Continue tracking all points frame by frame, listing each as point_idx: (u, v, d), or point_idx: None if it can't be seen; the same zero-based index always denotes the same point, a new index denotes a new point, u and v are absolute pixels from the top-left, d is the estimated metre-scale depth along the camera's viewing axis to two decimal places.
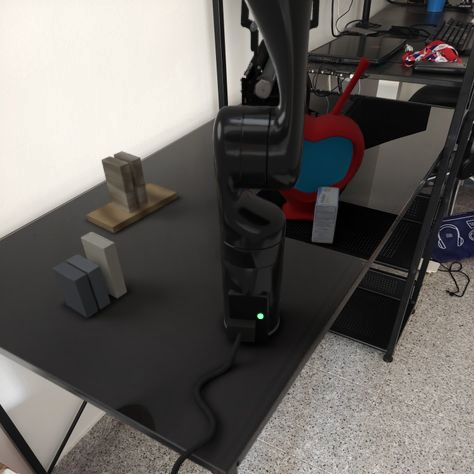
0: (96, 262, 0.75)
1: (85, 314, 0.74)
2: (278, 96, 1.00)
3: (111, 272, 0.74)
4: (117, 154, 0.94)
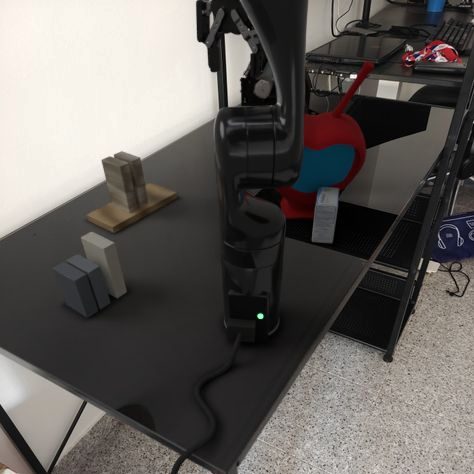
0: (96, 262, 0.75)
1: (85, 314, 0.74)
2: None
3: (111, 272, 0.74)
4: (117, 154, 0.94)
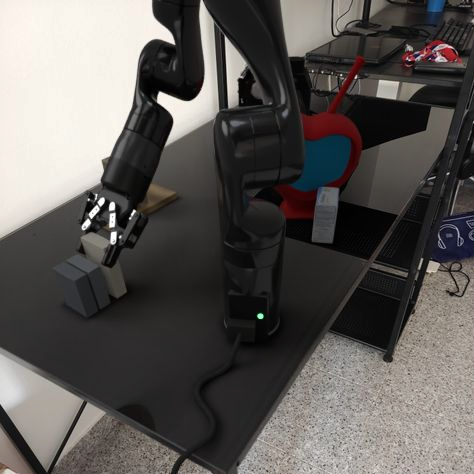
0: (96, 262, 0.75)
1: (85, 314, 0.74)
2: None
3: (111, 272, 0.74)
4: None
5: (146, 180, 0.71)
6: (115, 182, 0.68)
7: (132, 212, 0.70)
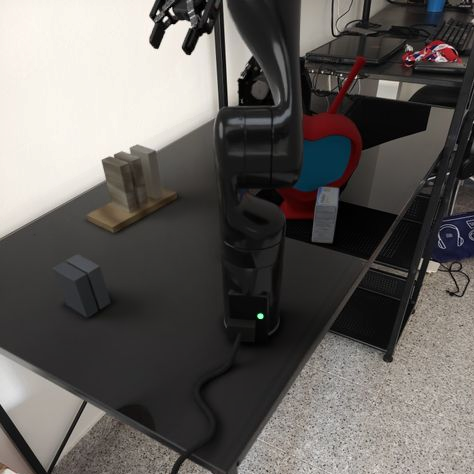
0: None
1: (85, 314, 0.74)
2: None
3: (152, 175, 0.97)
4: (117, 154, 0.94)
5: None
6: None
7: None
